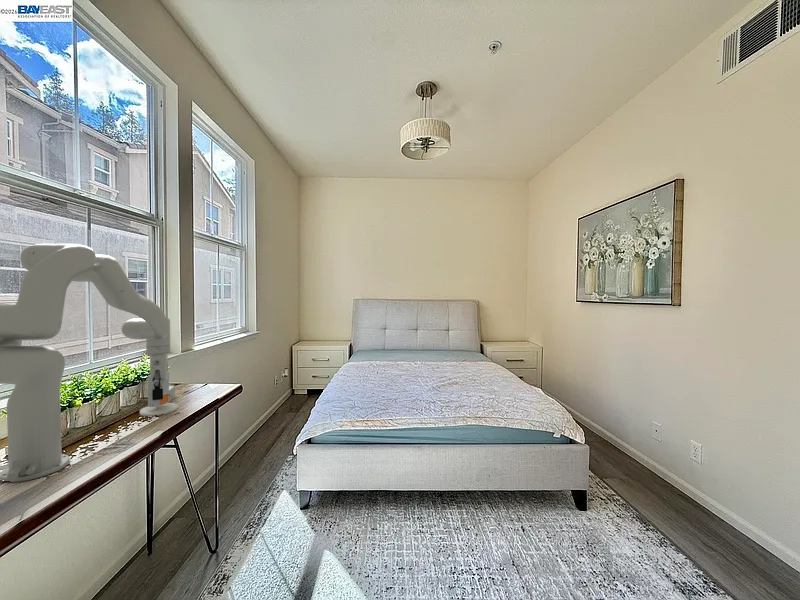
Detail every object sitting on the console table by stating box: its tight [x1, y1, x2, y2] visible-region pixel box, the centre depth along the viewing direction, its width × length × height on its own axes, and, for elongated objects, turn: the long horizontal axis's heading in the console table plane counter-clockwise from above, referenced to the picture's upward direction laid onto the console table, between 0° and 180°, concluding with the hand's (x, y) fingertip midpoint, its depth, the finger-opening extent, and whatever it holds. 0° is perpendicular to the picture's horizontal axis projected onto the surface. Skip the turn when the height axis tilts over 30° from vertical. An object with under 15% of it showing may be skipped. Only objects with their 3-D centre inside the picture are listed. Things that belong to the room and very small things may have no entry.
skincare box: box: [147, 371, 170, 407], centre depth 135 cm, size 6×4×12 cm
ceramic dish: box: [139, 402, 179, 417], centre depth 136 cm, size 12×12×1 cm
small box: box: [169, 385, 176, 403], centre depth 149 cm, size 8×8×5 cm
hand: (158, 396), depth 136 cm, fingers closed on skincare box, 7 cm apart
